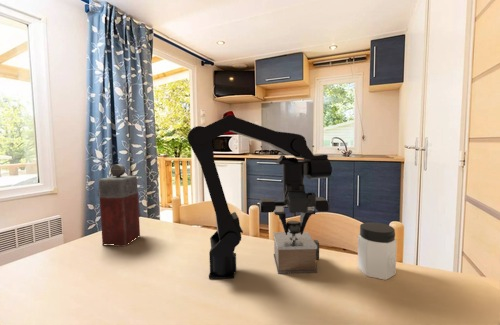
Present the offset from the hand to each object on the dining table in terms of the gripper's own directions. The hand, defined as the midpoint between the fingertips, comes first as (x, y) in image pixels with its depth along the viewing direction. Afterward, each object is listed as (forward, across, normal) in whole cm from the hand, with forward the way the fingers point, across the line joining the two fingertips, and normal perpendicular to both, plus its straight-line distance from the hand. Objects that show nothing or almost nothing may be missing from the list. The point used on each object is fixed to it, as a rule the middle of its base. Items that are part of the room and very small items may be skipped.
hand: (293, 234), depth 69 cm
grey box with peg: (+9, 0, 0) cm, 9 cm away
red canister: (+9, -59, +21) cm, 63 cm away
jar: (+9, +21, -5) cm, 23 cm away
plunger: (+9, 0, 0) cm, 9 cm away
